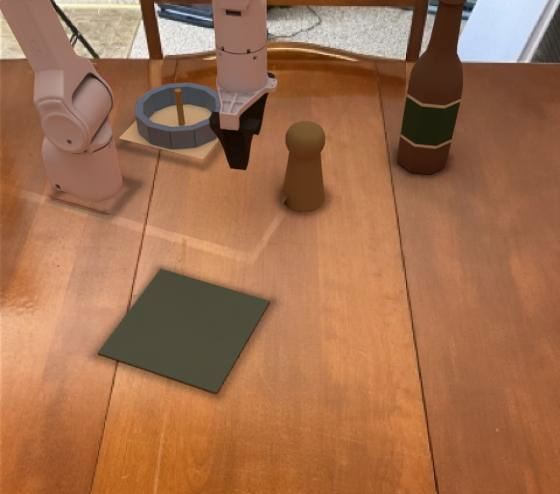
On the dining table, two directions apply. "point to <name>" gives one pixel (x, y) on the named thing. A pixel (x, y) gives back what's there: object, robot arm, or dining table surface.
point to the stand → (173, 118)
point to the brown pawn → (304, 167)
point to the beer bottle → (433, 95)
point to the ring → (180, 134)
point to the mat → (186, 330)
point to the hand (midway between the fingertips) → (245, 149)
